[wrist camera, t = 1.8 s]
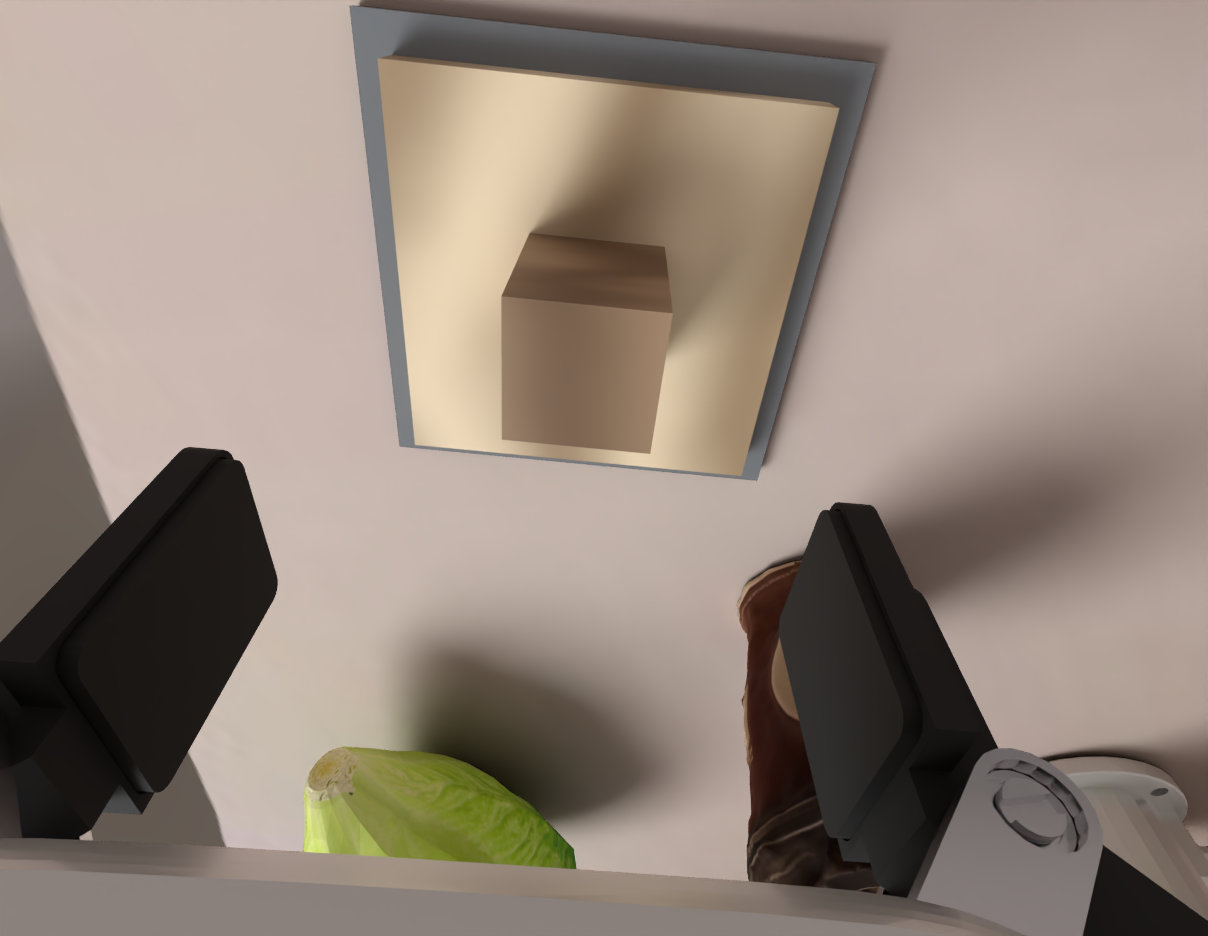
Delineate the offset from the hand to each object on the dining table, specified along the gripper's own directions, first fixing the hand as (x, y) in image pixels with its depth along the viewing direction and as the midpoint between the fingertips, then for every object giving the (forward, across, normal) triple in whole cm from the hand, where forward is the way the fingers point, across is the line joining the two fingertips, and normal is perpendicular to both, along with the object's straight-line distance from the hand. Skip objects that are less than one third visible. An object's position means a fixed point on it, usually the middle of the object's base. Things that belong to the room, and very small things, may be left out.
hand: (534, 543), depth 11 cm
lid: (+13, -1, +1) cm, 13 cm away
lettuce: (+13, +5, +32) cm, 35 cm away
